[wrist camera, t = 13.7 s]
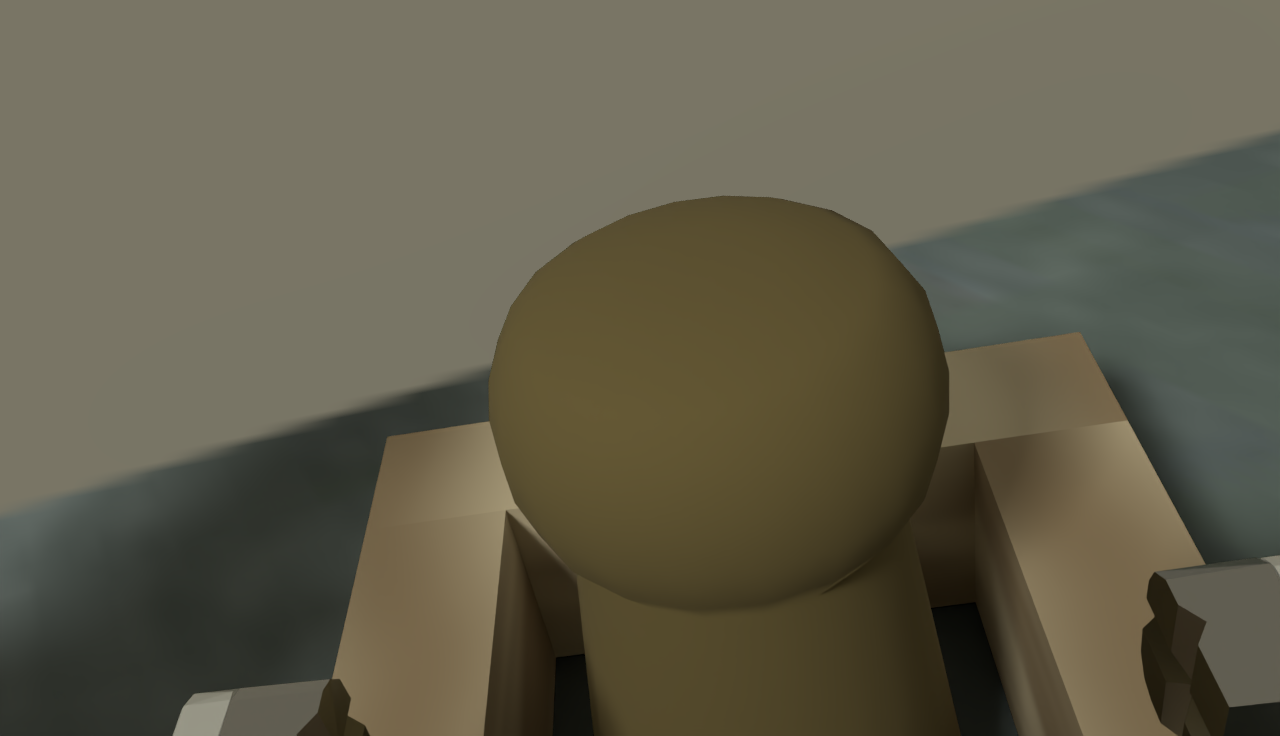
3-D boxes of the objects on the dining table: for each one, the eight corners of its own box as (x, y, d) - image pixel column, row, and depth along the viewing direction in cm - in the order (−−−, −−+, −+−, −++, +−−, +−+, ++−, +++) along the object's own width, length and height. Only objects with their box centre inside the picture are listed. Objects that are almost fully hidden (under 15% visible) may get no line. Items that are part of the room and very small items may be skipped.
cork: (593, 717, 22) (425, 189, 15) (919, 650, 22) (893, 91, 15) (627, 1068, 17) (401, 518, 10) (1047, 984, 17) (1092, 376, 10)
